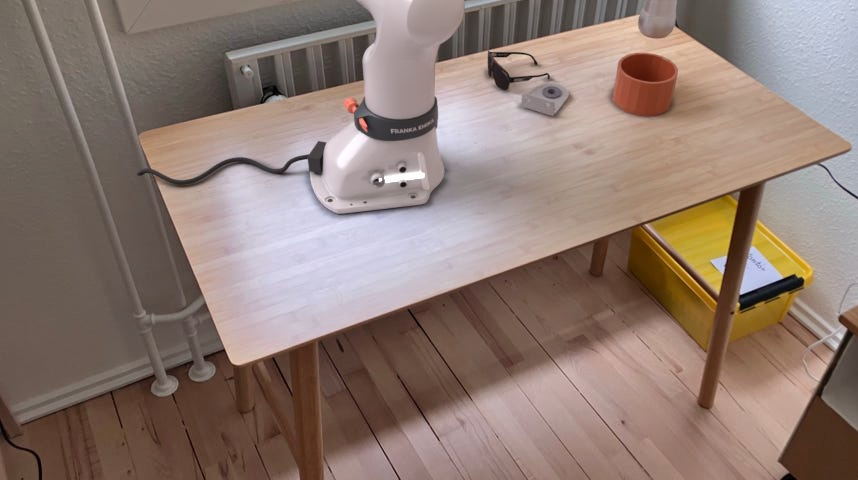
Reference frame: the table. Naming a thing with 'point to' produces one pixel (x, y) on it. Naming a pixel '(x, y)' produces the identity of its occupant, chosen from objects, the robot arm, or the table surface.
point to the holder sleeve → (644, 84)
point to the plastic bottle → (657, 18)
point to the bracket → (546, 98)
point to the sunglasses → (502, 75)
